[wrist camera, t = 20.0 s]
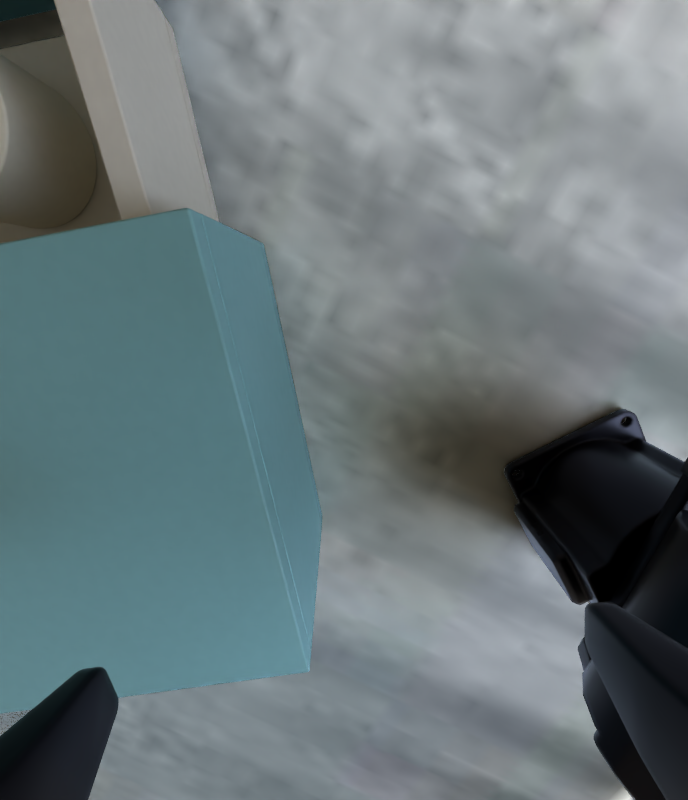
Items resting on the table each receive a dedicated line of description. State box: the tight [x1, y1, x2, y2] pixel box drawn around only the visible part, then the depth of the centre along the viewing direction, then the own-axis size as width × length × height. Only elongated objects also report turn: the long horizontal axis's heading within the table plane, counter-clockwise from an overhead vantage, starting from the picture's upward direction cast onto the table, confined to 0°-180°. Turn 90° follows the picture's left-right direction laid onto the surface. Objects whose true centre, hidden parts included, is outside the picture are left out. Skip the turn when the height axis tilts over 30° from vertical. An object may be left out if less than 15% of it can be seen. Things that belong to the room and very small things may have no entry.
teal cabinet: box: [0, 208, 322, 714], centre depth 15 cm, size 14×15×9 cm
